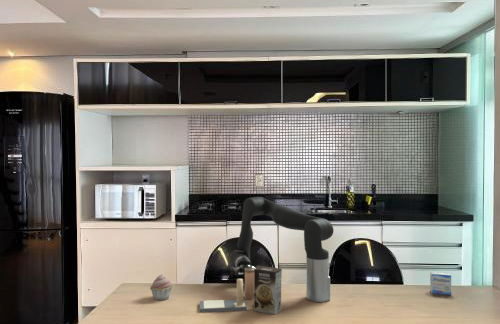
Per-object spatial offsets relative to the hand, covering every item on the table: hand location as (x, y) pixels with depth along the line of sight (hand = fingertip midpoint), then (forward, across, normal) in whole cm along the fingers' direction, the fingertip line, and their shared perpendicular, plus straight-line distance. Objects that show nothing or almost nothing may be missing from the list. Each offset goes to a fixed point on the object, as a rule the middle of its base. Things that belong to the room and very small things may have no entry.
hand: (247, 274), depth 178 cm
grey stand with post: (+20, -12, +7) cm, 25 cm away
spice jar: (+10, 0, +7) cm, 13 cm away
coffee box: (+26, +5, +7) cm, 27 cm away
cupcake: (+7, -37, +7) cm, 38 cm away
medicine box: (+14, +84, +7) cm, 85 cm away
